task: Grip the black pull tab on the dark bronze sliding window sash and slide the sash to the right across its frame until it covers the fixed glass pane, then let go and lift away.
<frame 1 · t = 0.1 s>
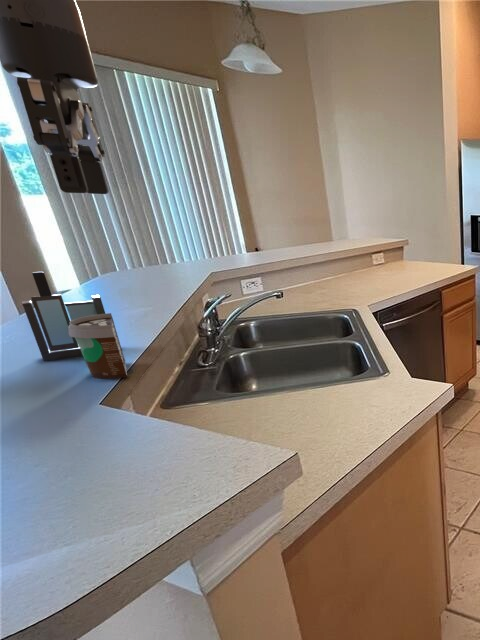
hand: (87, 193, 53), 31 cm above the worktop, tool pointing down, fingers open, 8 cm apart
window frame: (81, 353, 92), on the worktop
sash: (51, 311, 87), point 9 cm above the worktop, slide at 0.0 cm
food container: (105, 374, 83), on the worktop
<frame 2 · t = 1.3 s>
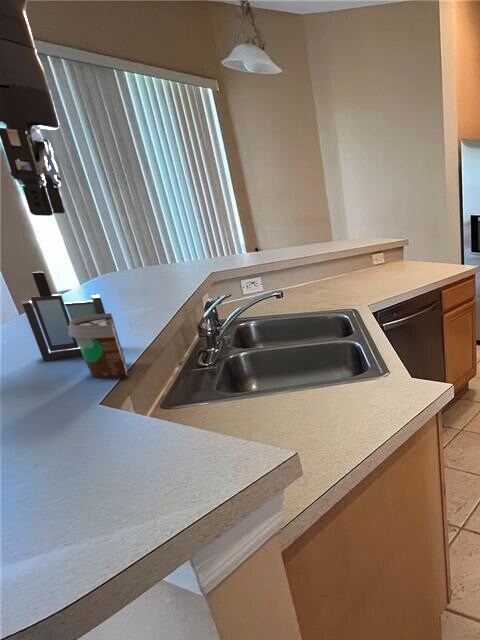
hand: (49, 214, 65), 28 cm above the worktop, tool pointing down, fingers open, 8 cm apart
nothing on the worktop moved.
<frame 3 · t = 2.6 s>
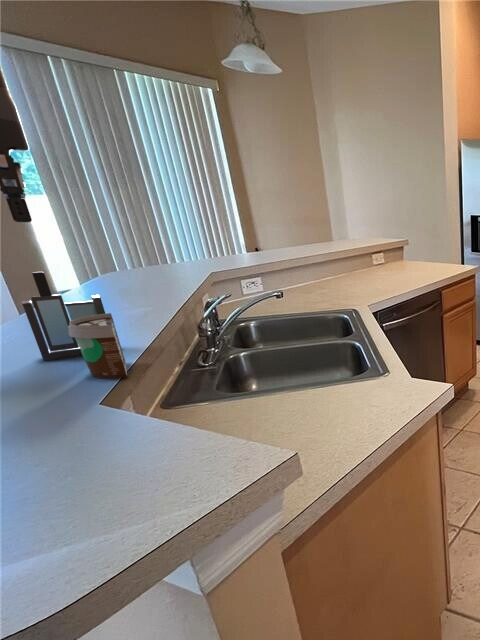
hand: (23, 221, 79), 26 cm above the worktop, tool pointing down, fingers open, 8 cm apart
nothing on the worktop moved.
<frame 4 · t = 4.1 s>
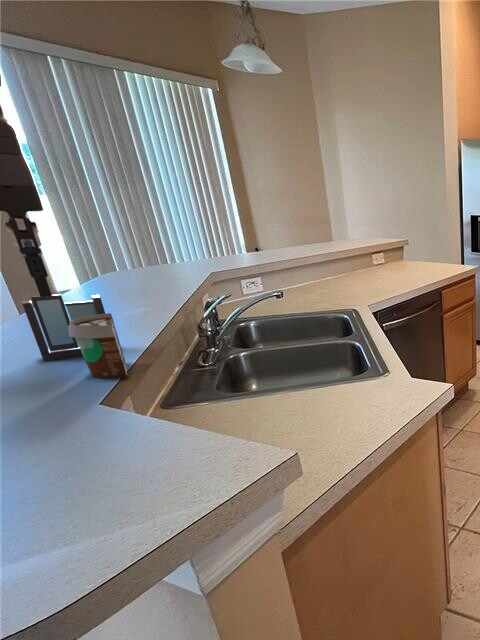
hand: (39, 275, 85), 16 cm above the worktop, tool pointing down, fingers open, 8 cm apart
nothing on the worktop moved.
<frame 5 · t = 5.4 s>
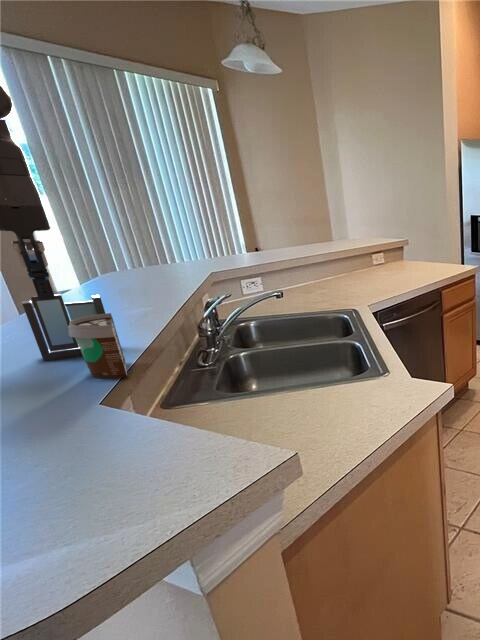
hand: (46, 298, 86), 12 cm above the worktop, tool pointing down, fingers closed
sash: (51, 311, 87), point 9 cm above the worktop, slide at 0.0 cm, touching gripper
everything else where it was.
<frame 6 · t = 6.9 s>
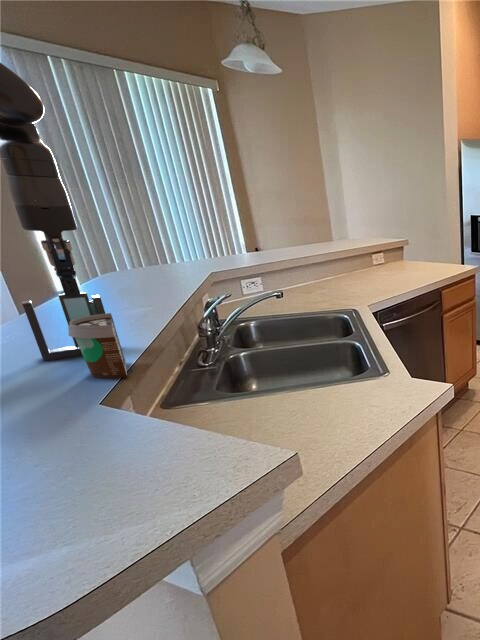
hand: (73, 296, 89), 12 cm above the worktop, tool pointing down, fingers closed
sash: (77, 309, 90), point 9 cm above the worktop, slide at 3.8 cm, touching gripper
everything else where it was.
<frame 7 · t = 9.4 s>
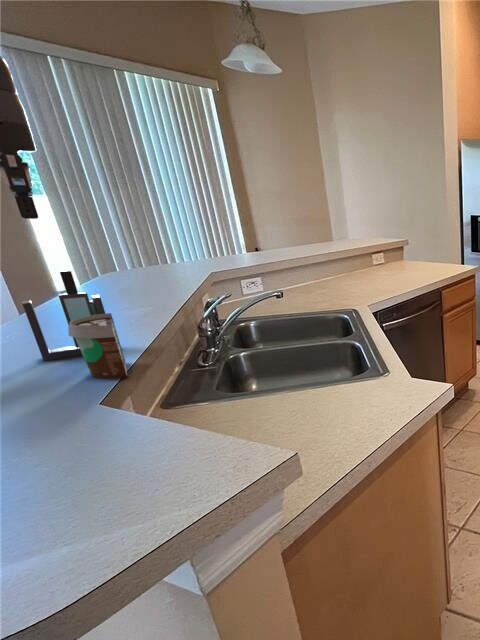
hand: (30, 217, 84), 27 cm above the worktop, tool pointing down, fingers open, 8 cm apart
sash: (77, 309, 90), point 9 cm above the worktop, slide at 3.8 cm
everything else where it was.
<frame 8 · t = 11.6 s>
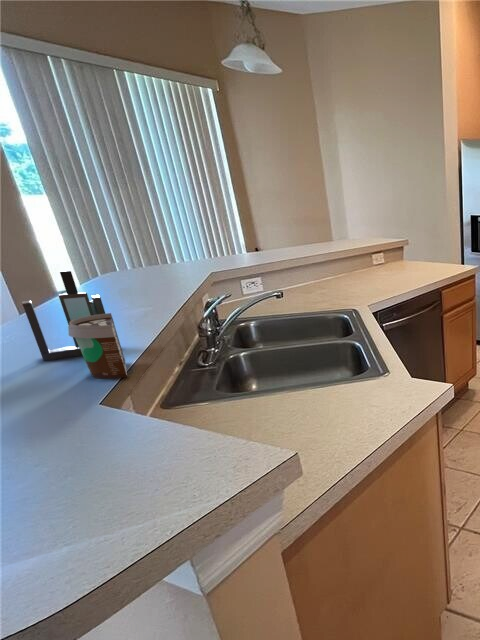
nothing on the worktop moved.
at the end: sash slide at 3.8 cm; the gripper is holding nothing; food container moved 0.2 cm from its start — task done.
